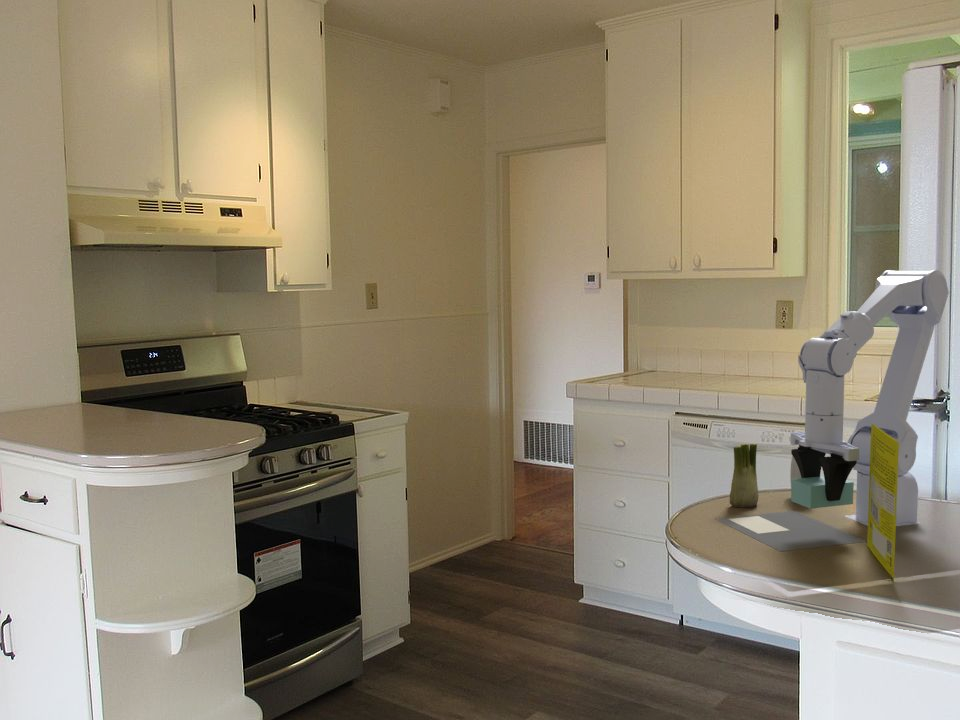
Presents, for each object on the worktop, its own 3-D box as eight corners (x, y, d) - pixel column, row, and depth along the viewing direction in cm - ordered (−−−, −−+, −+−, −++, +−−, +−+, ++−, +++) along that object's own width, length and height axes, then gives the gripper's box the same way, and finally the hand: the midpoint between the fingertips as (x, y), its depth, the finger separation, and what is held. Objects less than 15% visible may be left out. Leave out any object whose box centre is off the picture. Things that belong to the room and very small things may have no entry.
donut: (815, 507, 167) (816, 454, 166) (795, 507, 168) (796, 453, 167) (807, 494, 177) (808, 443, 176) (788, 493, 178) (789, 443, 177)
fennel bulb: (753, 503, 171) (754, 440, 170) (765, 510, 166) (766, 445, 165) (723, 505, 170) (724, 441, 169) (734, 512, 165) (735, 447, 164)
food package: (897, 583, 128) (902, 442, 126) (889, 582, 128) (894, 442, 126) (870, 549, 143) (875, 423, 141) (863, 549, 143) (867, 423, 141)
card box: (832, 496, 152) (833, 475, 151) (853, 504, 147) (853, 482, 147) (791, 500, 149) (791, 479, 149) (810, 508, 145) (810, 486, 144)
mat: (794, 514, 164) (794, 510, 163) (867, 544, 145) (867, 540, 145) (714, 522, 159) (714, 518, 159) (780, 555, 141) (780, 551, 141)
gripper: (775, 407, 152) (774, 487, 154) (832, 422, 139) (830, 509, 140) (811, 405, 154) (809, 484, 156) (871, 419, 141) (868, 505, 142)
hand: (822, 496), depth 148 cm, fingers closed on card box, 5 cm apart
